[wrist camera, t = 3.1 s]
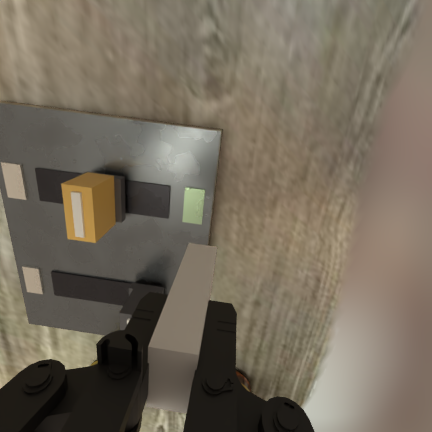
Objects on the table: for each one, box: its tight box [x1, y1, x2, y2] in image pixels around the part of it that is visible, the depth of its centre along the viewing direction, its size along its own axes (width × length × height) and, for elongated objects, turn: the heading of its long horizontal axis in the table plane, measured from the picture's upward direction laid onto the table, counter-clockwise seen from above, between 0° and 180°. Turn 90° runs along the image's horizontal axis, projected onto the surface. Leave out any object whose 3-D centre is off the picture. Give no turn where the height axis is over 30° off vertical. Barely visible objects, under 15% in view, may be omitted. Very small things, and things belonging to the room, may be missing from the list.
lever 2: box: [119, 283, 164, 330], centre depth 23 cm, size 4×3×4 cm
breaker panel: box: [0, 101, 223, 335], centre depth 24 cm, size 22×18×2 cm
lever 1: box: [61, 172, 126, 243], centre depth 19 cm, size 4×3×4 cm
